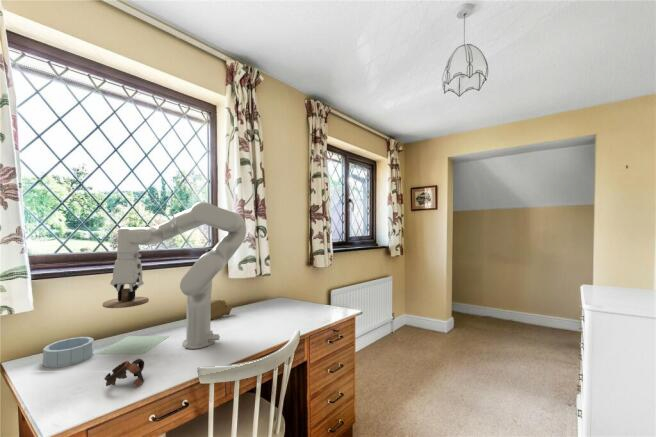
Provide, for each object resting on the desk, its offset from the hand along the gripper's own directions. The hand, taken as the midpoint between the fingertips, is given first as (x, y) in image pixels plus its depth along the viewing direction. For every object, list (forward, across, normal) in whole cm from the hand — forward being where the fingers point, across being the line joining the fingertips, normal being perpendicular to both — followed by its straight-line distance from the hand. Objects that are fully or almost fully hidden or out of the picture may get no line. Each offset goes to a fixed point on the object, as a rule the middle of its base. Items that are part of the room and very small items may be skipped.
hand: (126, 300), depth 125 cm
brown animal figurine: (+20, -22, +28) cm, 41 cm away
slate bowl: (+20, +13, +12) cm, 26 cm away
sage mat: (+20, -3, -2) cm, 20 cm away
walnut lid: (+1, 0, 0) cm, 1 cm away
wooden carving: (+19, -22, -40) cm, 50 cm away
